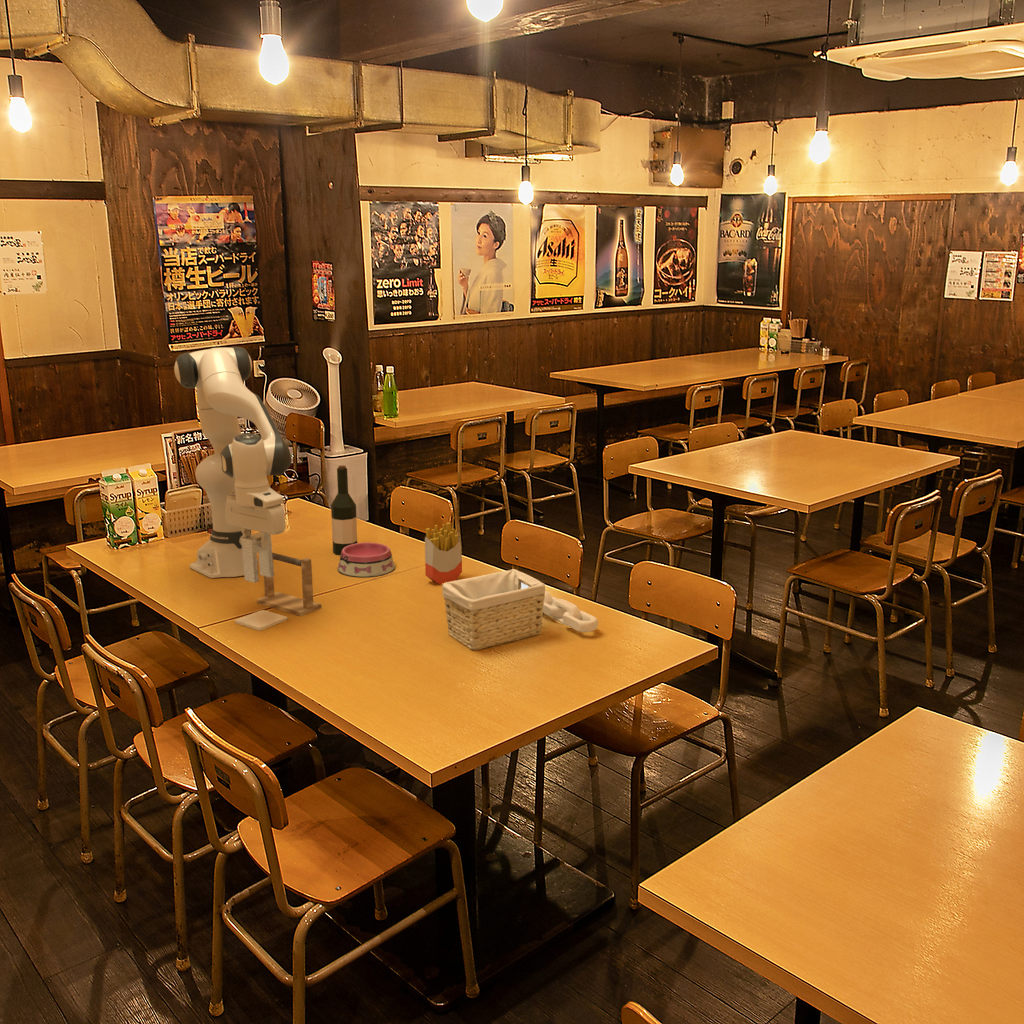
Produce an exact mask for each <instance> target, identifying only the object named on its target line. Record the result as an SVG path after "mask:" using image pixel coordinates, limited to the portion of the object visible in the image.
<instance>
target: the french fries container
mask: <svg viewBox="0 0 1024 1024" xmlns="http://www.w3.org/2000/svg"><path fill="white" fill-rule="evenodd" d="M441 526H442V527H441V528H438V527H439V526H438V525H437V524H435V525H434V528H432V529H431V528H429V527H427V528H425V536H424V558H425V559H424V562H425V564H424V565H425V567H424V569H425V571H424V572H425V576H426V577H427V578H428V579H429V580H431V581H433V582H434V583H436V584H438V585H440V584H441V585H443V584H442V583H445V582H450V581H454V580H455V581H456V580H457V579H458V578H459V577H460V575H461V574H462V573H463V556H462V543H461V537H460V534H459V532H458V529H457V530H456V529H455V528H452V523H451V521H450V522H446V523H442V524H441Z"/></svg>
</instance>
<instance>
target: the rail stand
mask: <svg viewBox="0 0 1024 1024" xmlns="http://www.w3.org/2000/svg"><path fill="white" fill-rule="evenodd" d="M272 556H273V561H274V560H275V561H277V562H278V561H279V562H282V563H287V564H290V565H294V566H298V567H300V568H301V584H302V585H301V587H302V598H300V597H298V596H294V595H291V594H290V595H289V594H286V593H284V592H280V591H276V592H275V575H274V576H273V577H267V576H263V588H264V596H262V597H259V598H257V599H256V604H259V605H261V606H266V607H269V608H272V609H276V610H279V611H282V612H285V613H288V614H292V615H296V616H298V617H302V616H305V615H308V614H310V613H313V612H315V611H318V610H321V609H322V603H318V602H316V601H315V602H314V591H313V590H314V586H313V569H312V567H313V566H312V559H311V558H308V557H306V558H302V559H300V558H295V557H290V556H287V555H284V554H279V553H276V552H272Z"/></svg>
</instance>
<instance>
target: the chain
mask: <svg viewBox="0 0 1024 1024" xmlns="http://www.w3.org/2000/svg"><path fill="white" fill-rule="evenodd" d="M527 588H529V586H527ZM543 613H544V614H543V615H546V616H548V617H551V618H552V619H553V620H554V621H555V620H556V621H558V622H560V623H562V624H564V625H566V626H569V627H571V628H572V629H573V630H574V631H577V632H579V633H590V632H593V631H595V630H597V629H598V627H599V626H598V625H599V621H598V620H599V619H598V618H597V617H596V616H594V615H592V614H590V613H588V612H585V611H584V610H580V608H579V607H578V606H577V604H574V603H572V602H570V601H568V600H566V599H563V598H557V597H555V596H552V595H551V593H550V592H549V591H547V590H545V599H544V605H543ZM556 621H555V622H556ZM558 622H557V623H558ZM571 628H570V629H571Z"/></svg>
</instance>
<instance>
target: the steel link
mask: <svg viewBox="0 0 1024 1024" xmlns="http://www.w3.org/2000/svg"><path fill="white" fill-rule="evenodd" d="M261 538H262V535H261V534H260V532H259V531H258V532H256V533H253V534H252V533H251V535H249V536H245V537H242V538H241V542H242V553H243V565H244V575H243V576H244V581H246V582H250V583H255V584H256V583H258V582H259V580H260V577H259V575H260V576H263V577H264V576H267V577H273V576H274V577H275V572H274V571H275V570H274V559H273V556H272V553H273V546H272V545H273V544H272V534H270V536H269V538H268V540H267V542H268V546H267V547H260V546H259V540H261ZM257 560H258V565H259V568H258V565H257Z"/></svg>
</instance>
